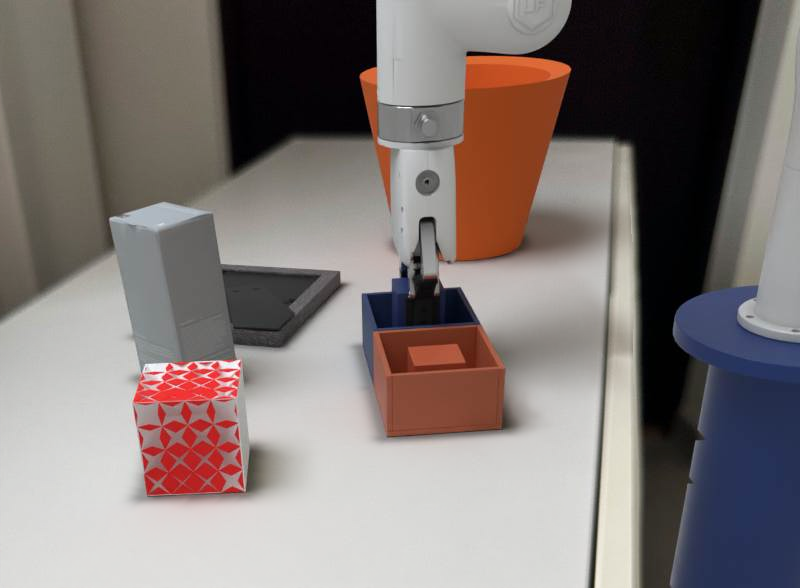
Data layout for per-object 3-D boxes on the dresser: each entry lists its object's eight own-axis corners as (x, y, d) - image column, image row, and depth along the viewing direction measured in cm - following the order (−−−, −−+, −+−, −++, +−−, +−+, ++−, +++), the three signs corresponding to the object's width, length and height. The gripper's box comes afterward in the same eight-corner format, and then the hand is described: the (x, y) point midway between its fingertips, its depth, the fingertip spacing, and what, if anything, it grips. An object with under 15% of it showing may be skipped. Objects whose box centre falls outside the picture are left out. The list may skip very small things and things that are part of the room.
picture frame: (279, 347, 109) (340, 284, 125) (277, 328, 108) (340, 267, 124) (140, 336, 114) (217, 276, 130) (138, 317, 113) (215, 260, 129)
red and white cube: (245, 491, 84) (236, 398, 79) (147, 496, 84) (132, 403, 79) (249, 447, 90) (241, 358, 86) (158, 452, 90) (145, 363, 86)
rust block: (455, 390, 97) (457, 343, 94) (464, 410, 93) (466, 361, 91) (407, 394, 97) (407, 346, 94) (413, 414, 93) (414, 365, 91)
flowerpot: (585, 227, 140) (602, 59, 128) (507, 282, 123) (518, 94, 112) (419, 209, 151) (420, 53, 140) (326, 256, 135) (319, 84, 123)
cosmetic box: (240, 381, 102) (224, 210, 93) (180, 402, 99) (157, 227, 89) (190, 359, 108) (170, 195, 98) (131, 379, 104) (105, 211, 95)
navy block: (436, 321, 104) (438, 275, 102) (444, 337, 101) (445, 290, 98) (391, 324, 104) (391, 278, 101) (397, 340, 100) (397, 293, 98)
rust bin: (478, 381, 100) (481, 324, 97) (501, 429, 91) (505, 368, 88) (373, 388, 100) (372, 331, 96) (386, 436, 91) (386, 376, 88)
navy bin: (458, 340, 109) (460, 286, 105) (478, 380, 100) (480, 323, 97) (362, 346, 108) (361, 293, 105) (373, 387, 100) (372, 330, 96)
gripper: (481, 139, 85) (472, 358, 95) (447, 103, 98) (442, 298, 109) (388, 145, 85) (389, 363, 95) (367, 108, 98) (370, 303, 109)
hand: (418, 326), depth 102 cm, fingers closed on navy block, 4 cm apart
